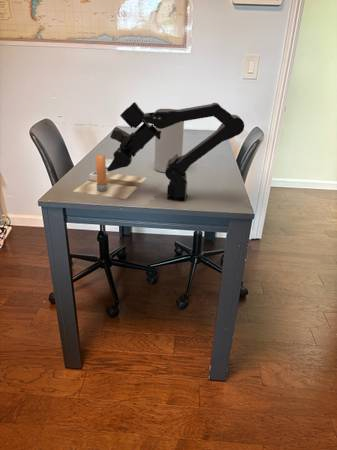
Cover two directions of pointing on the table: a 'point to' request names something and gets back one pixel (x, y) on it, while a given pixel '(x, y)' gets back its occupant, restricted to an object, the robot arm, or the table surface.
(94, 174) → the block
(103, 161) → the awl
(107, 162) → the hard drive
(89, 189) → the subfloor board
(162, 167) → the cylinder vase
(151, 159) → the table surface
